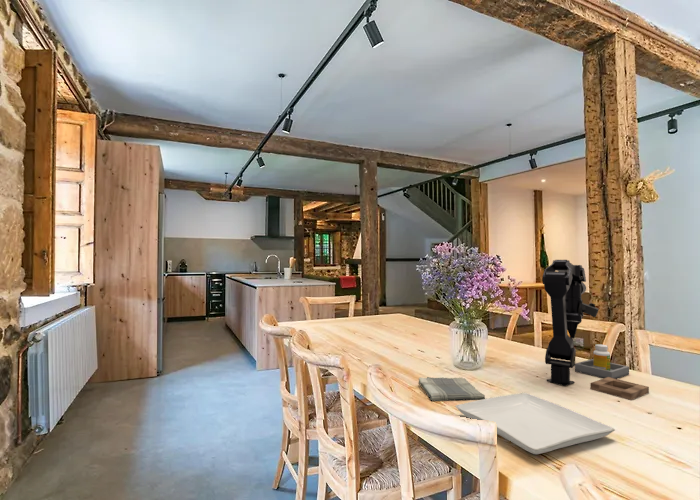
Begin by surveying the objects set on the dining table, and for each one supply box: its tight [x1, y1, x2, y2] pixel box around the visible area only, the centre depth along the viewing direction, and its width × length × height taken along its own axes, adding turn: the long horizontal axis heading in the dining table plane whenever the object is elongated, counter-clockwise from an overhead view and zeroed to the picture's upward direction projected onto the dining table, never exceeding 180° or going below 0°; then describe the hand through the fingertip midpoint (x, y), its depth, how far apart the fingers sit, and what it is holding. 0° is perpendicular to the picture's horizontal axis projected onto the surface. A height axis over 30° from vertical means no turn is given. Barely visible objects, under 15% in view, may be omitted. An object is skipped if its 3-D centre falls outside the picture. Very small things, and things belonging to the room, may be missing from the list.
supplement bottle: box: [592, 343, 611, 371], centre depth 146 cm, size 5×5×10 cm
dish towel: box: [418, 376, 486, 402], centre depth 128 cm, size 19×18×3 cm
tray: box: [574, 358, 630, 379], centre depth 146 cm, size 13×13×3 cm
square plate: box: [454, 392, 616, 455], centre depth 100 cm, size 27×27×4 cm
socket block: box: [589, 377, 650, 401], centre depth 127 cm, size 12×12×2 cm
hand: (573, 336), depth 152 cm, fingers open, 9 cm apart
